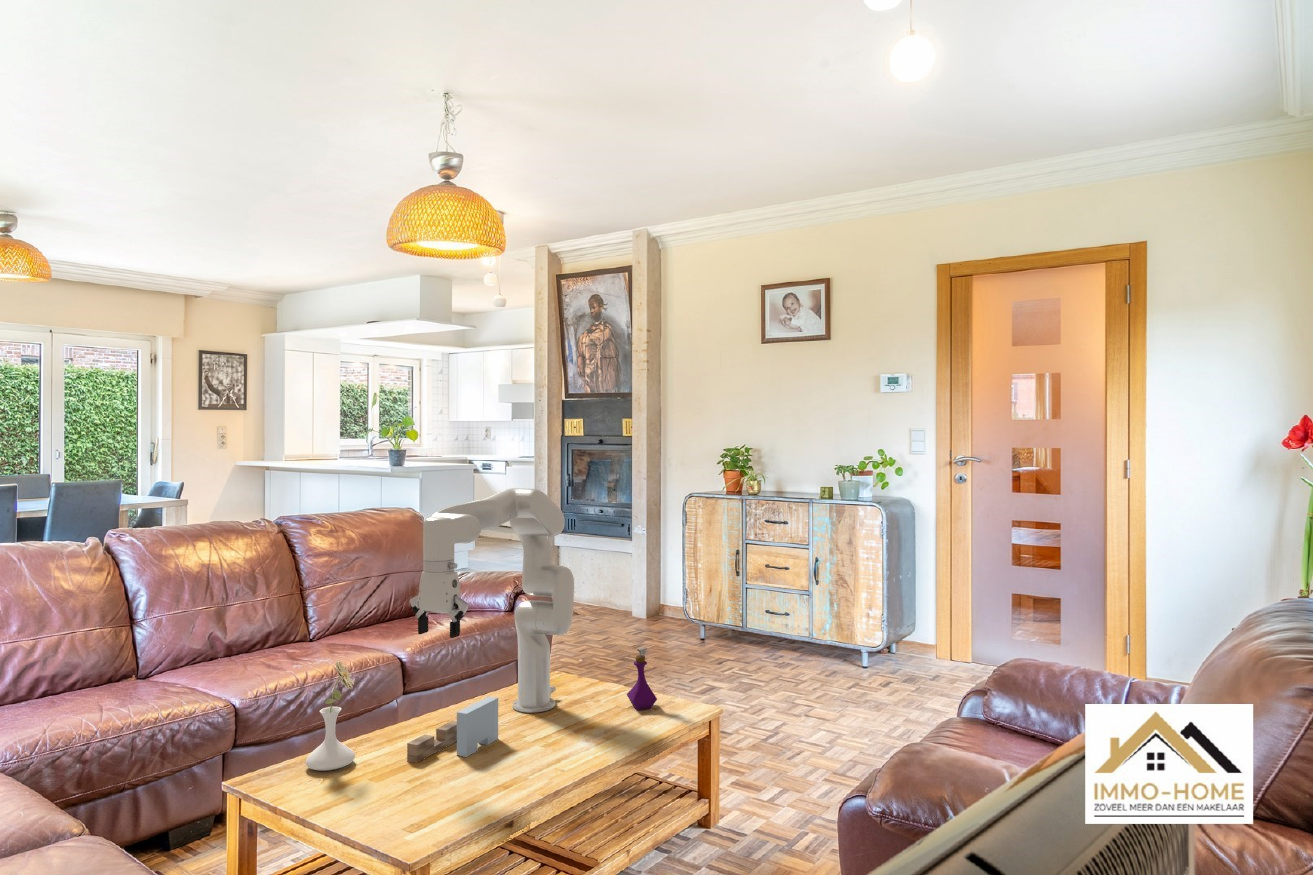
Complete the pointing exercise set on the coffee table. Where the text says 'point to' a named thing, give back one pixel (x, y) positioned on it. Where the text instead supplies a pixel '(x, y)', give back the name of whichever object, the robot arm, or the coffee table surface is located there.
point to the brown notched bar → (432, 742)
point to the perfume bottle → (641, 686)
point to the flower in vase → (332, 732)
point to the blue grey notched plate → (477, 726)
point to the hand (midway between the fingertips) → (438, 634)
